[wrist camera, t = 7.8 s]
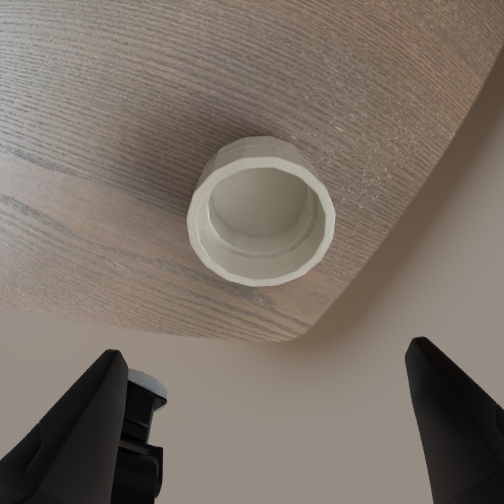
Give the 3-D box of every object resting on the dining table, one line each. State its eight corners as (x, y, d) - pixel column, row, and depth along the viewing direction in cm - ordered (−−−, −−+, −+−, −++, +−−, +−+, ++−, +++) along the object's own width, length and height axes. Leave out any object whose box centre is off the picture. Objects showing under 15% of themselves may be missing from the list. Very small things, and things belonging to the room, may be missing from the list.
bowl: (262, 259, 22) (264, 306, 18) (177, 195, 19) (158, 234, 15) (341, 189, 19) (363, 225, 15) (255, 108, 16) (257, 124, 12)
